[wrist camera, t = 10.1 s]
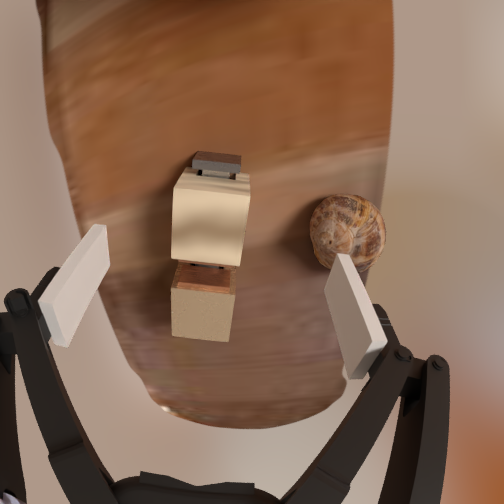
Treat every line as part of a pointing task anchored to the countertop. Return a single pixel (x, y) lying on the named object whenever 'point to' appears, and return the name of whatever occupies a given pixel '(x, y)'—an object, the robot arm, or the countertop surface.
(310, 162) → the countertop surface
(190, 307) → the rail
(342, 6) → the countertop surface
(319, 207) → the seashell
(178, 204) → the slotted tan cube
